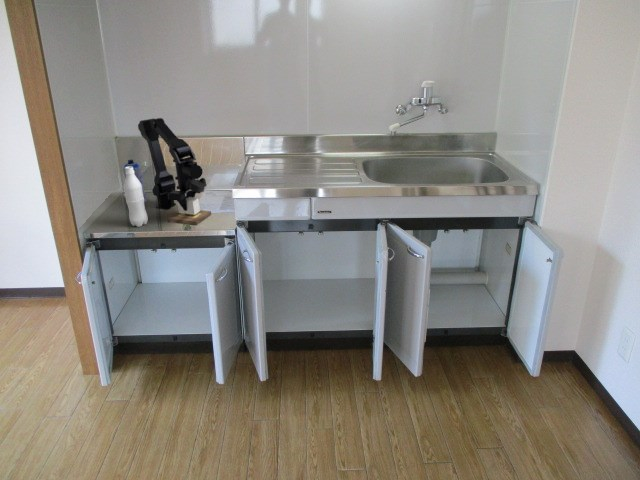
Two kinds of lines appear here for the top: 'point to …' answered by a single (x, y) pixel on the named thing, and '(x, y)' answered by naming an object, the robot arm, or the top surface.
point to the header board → (189, 217)
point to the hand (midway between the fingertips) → (188, 208)
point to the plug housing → (190, 206)
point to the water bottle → (134, 198)
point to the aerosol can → (136, 174)
